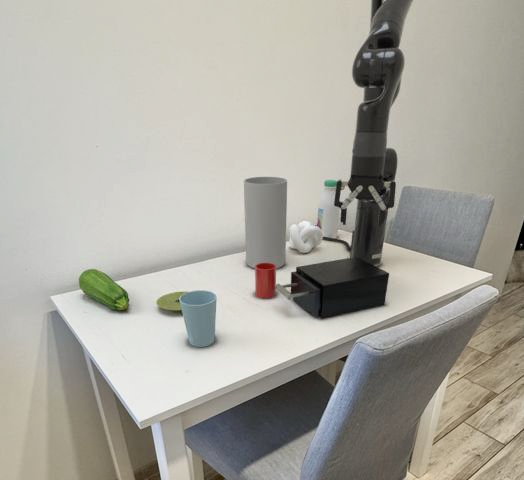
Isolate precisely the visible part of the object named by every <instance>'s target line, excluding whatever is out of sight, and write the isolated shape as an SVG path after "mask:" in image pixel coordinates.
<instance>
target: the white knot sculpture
mask: <svg viewBox="0 0 524 480" xmlns="http://www.w3.org/2000/svg"><path fill="white" fill-rule="evenodd" d="M322 238H323V233H322V231H321V229H320V228H319V227H317V226H315V225H314V224H312V223H311V222H310V221H308V220H303V221H300V222H299V223H294V224H291V225H290V227H289V241H288V243H289V244H288V245H289V247H290V249H292V250H297V251H299V252H300V253H302V254H308V253H310V252H311V250H312V249H314V248H317V247H318V246H320V244H321V243H322V241H323V239H322Z"/></svg>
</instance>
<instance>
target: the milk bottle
mask: <svg viewBox="0 0 524 480" xmlns="http://www.w3.org/2000/svg"><path fill="white" fill-rule="evenodd" d="M337 181H338V180H335V179H326V180H324V182H323V188H324V190H323V193H322V195H321V198H320V199H319V202H318V209H317V222H316V223H317V227H319V228H320V229H321V231H322V233H323V237H328V238H335V239H337V237H338V233H339V221H340V210H341V209H340V208H339V207H336V206H334V200H335V193H336V185H337Z"/></svg>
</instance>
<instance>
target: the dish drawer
mask: <svg viewBox="0 0 524 480" xmlns="http://www.w3.org/2000/svg"><path fill="white" fill-rule="evenodd" d="M275 288H276V291H277V292H279V293H280V294H282V296H283V297H285V298H286V299H287V300H288V301H292V300H294V301H295V302H296V303H298V304H299V305H300V306H301V307H303V308H304V309H305V310H306V311H307V312H308V313H310V314H311V315H312V316H314V317H315V316H317V315H318V314H319V310H320V307H321V293H322V287H320V286H319V285H317V284H316V283H315V282H313V281H312V280H310V279H309V278H307V277H306V276H304V275H303V274H302V273H301V275H300V274H298V273H297V272H296V270H295V271H291V272H290V283H287V284H282V285H281V284H280V283H276V286H275ZM287 288H290V291H289V290H288V289H287Z"/></svg>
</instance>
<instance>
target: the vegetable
mask: <svg viewBox="0 0 524 480" xmlns="http://www.w3.org/2000/svg"><path fill="white" fill-rule="evenodd" d="M78 286H79V289H80V290H81V291H82V292H83V293H84V295H86V296H87V297H90V298H92V299H93V300H96V301H98V302H99V303H102V304H104V305H106V306H107V307H109V308H110V309H111V310H117V311H123V310H126V309H127V308H128V307H129V306H130V305H129V304H130V298H129V293H128V292H127V290H126V289H125V288H123V287H122V286H121V285H119V284H118V283H117V282H115V280H114V279H112V278H111V277H110V276H109V275H108V274H106V273H105V272H103V271H101V270H98V269H95V268H90V269H86V270H84V271H83V272H82V273H81V274H80V275H79V277H78Z"/></svg>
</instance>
